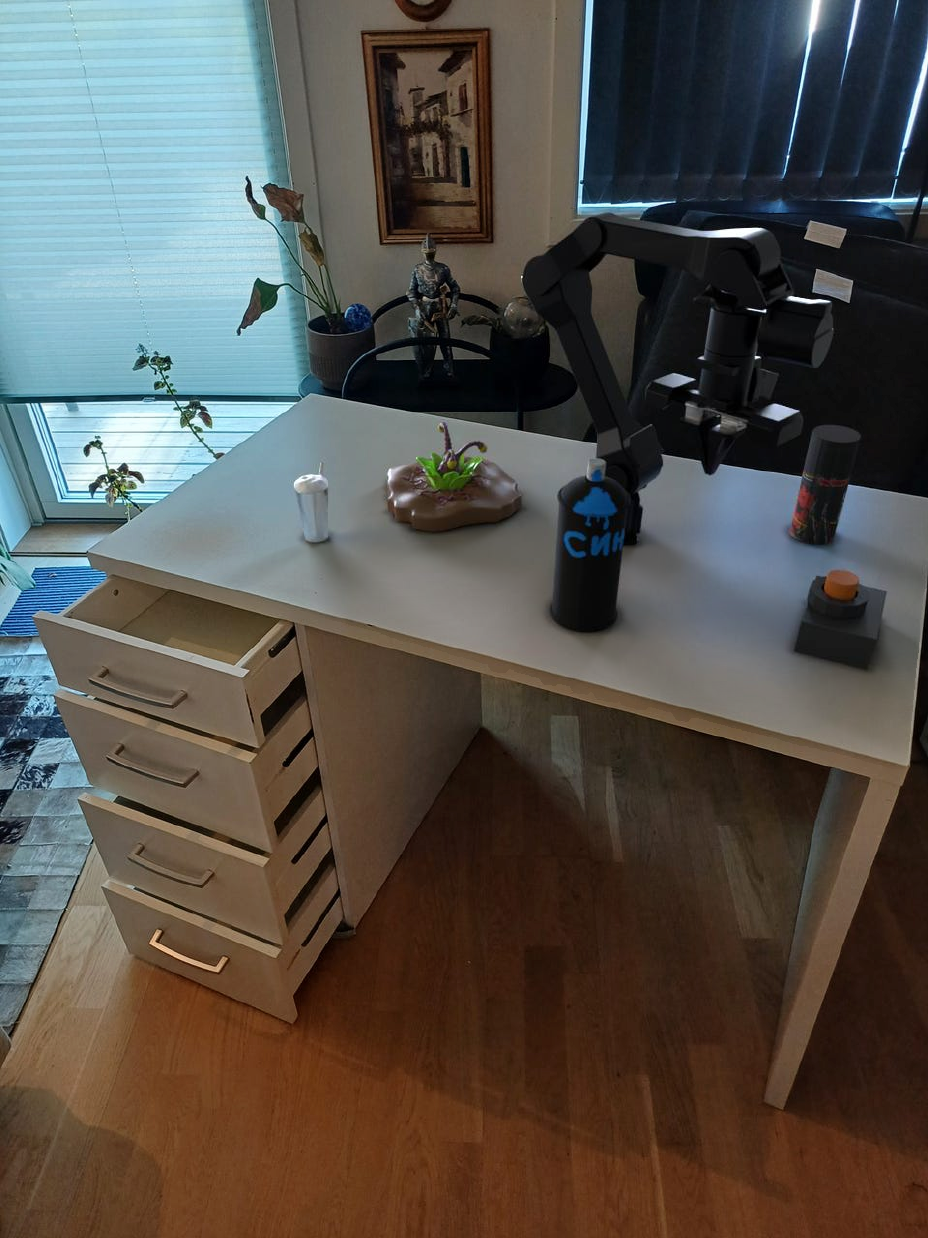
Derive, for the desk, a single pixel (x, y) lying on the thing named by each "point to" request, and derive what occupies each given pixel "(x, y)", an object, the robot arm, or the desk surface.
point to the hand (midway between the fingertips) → (709, 473)
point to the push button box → (841, 625)
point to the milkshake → (313, 505)
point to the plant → (451, 490)
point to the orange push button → (841, 584)
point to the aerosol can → (589, 550)
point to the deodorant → (824, 484)
